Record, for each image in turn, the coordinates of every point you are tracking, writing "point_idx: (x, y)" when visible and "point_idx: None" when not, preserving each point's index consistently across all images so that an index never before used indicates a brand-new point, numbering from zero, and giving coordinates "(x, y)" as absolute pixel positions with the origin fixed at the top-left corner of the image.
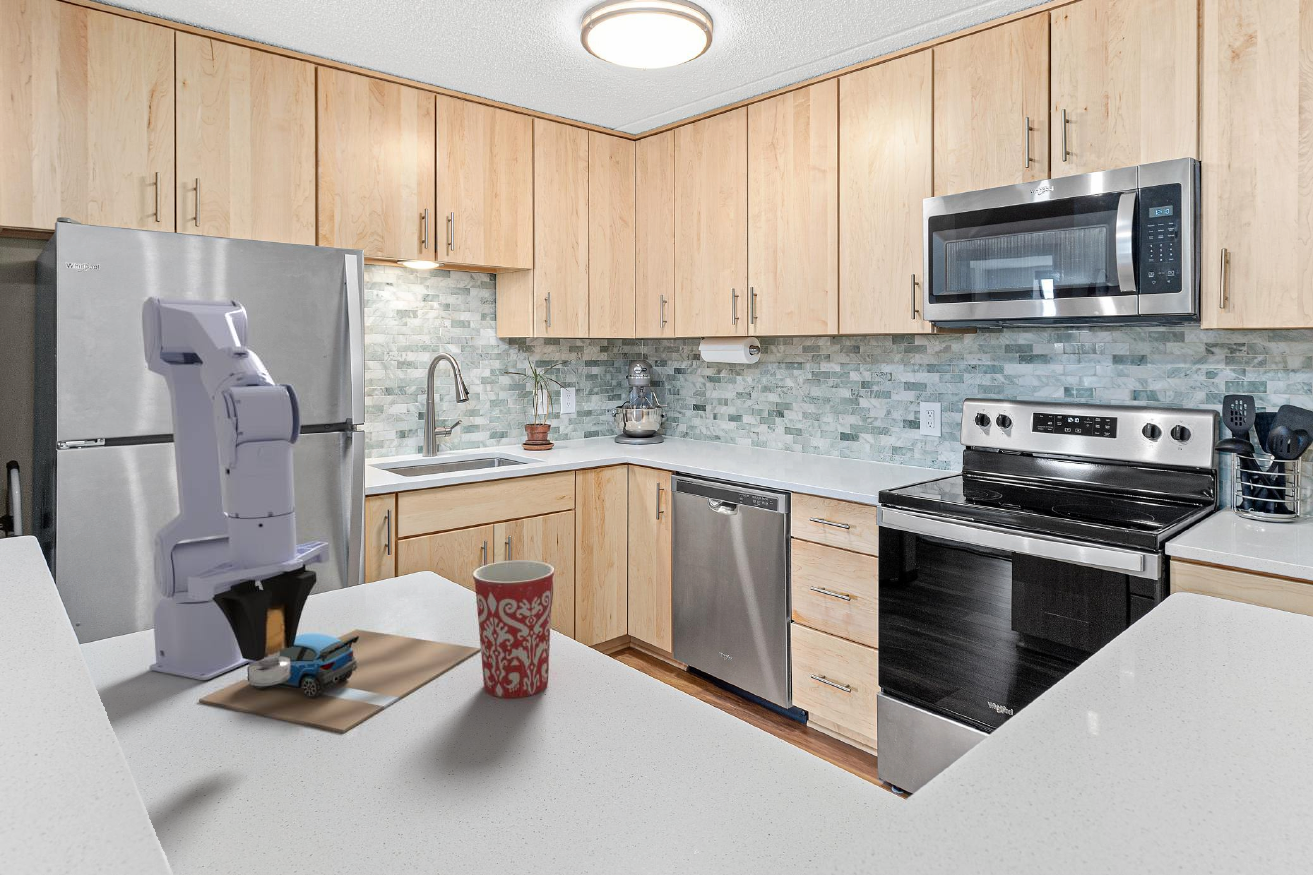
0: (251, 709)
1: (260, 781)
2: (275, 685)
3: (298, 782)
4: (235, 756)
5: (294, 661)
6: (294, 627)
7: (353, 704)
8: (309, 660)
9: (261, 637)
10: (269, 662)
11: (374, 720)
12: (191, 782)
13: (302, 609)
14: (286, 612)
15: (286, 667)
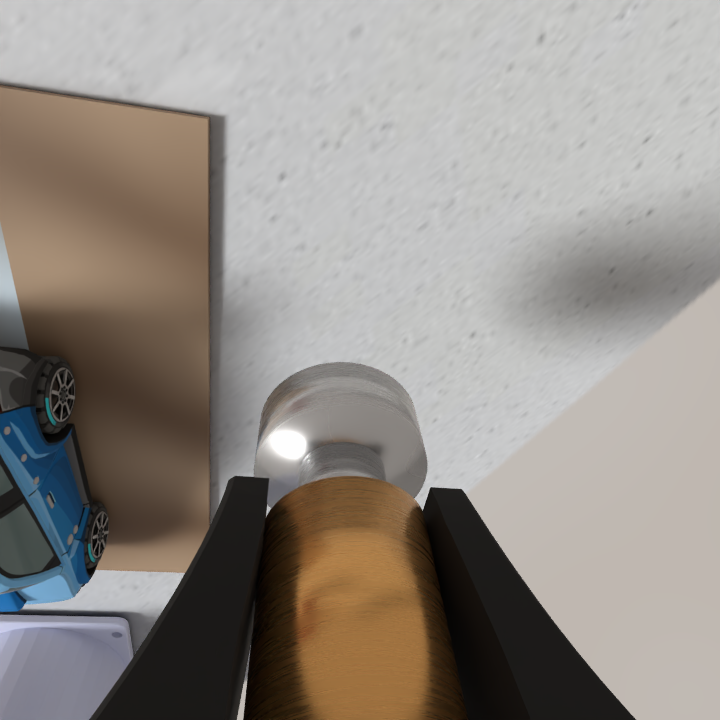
0: (204, 458)
1: (545, 178)
2: None
3: (550, 46)
4: (422, 335)
5: (29, 503)
6: (235, 560)
7: (28, 216)
8: (2, 465)
9: (504, 588)
10: (377, 467)
11: (73, 57)
12: (551, 341)
13: (134, 670)
14: (230, 702)
15: (334, 398)
